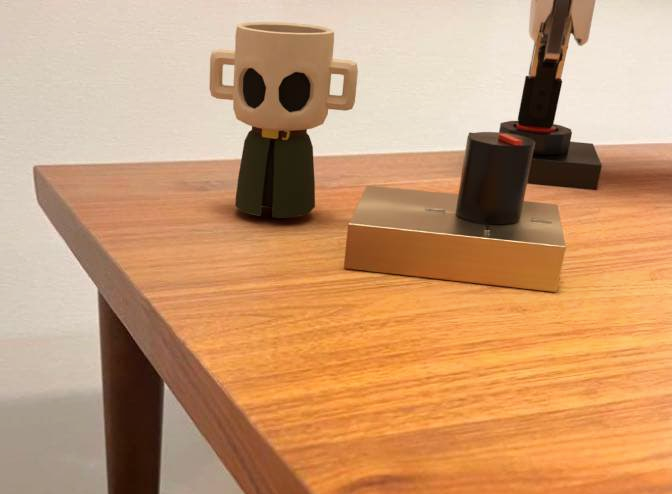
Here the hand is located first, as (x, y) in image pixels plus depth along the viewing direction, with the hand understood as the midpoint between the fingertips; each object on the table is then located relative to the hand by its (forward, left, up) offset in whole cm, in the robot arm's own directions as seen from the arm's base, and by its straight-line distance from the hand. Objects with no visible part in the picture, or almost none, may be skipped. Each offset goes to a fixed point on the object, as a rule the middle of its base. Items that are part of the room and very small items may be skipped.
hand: (534, 124), depth 90 cm
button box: (0, 0, -4) cm, 4 cm away
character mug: (+20, +24, -4) cm, 32 cm away
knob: (+4, +30, -1) cm, 30 cm away
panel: (+6, +30, -4) cm, 31 cm away
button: (0, 0, -2) cm, 2 cm away
